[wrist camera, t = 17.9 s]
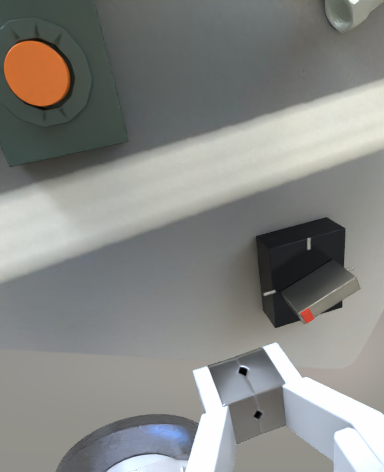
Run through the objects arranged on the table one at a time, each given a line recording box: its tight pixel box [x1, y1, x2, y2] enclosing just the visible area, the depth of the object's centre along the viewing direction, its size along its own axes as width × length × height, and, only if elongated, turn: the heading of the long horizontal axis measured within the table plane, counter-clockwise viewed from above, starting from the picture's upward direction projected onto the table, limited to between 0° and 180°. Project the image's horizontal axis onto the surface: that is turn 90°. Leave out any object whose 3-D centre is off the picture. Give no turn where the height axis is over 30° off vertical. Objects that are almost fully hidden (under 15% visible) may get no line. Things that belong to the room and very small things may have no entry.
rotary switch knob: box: [281, 259, 361, 324], centre depth 36 cm, size 7×2×4 cm, turn 120°
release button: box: [4, 41, 70, 106], centre depth 23 cm, size 4×4×2 cm
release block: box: [0, 0, 129, 167], centre depth 25 cm, size 12×10×4 cm
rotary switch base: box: [256, 217, 353, 328], centre depth 39 cm, size 11×11×4 cm
